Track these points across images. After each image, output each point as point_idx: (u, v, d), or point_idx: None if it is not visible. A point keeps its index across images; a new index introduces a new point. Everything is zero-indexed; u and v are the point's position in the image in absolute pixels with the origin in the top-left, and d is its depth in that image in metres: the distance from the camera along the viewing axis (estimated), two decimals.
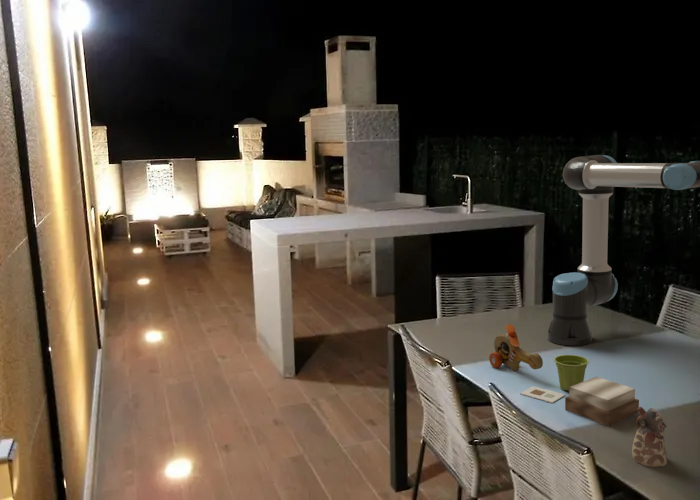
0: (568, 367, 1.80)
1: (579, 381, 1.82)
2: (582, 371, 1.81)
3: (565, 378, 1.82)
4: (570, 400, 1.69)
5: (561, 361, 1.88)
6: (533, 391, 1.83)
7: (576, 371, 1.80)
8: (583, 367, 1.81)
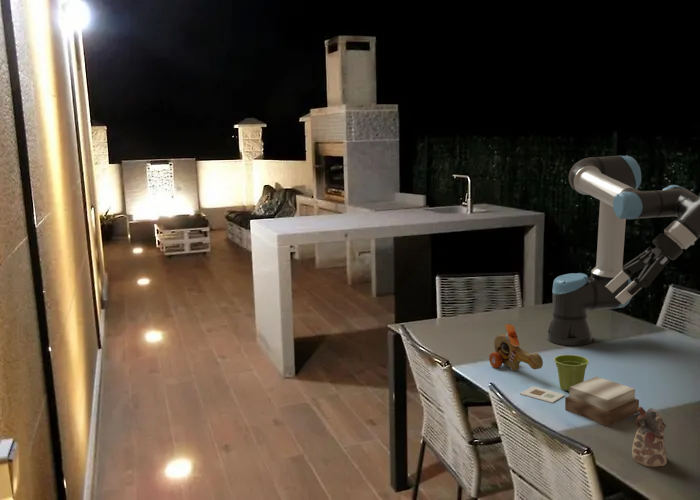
0: (568, 367, 1.80)
1: (579, 381, 1.82)
2: (582, 371, 1.81)
3: (565, 378, 1.82)
4: (570, 400, 1.69)
5: (561, 361, 1.88)
6: (533, 391, 1.83)
7: (576, 371, 1.80)
8: (583, 367, 1.81)
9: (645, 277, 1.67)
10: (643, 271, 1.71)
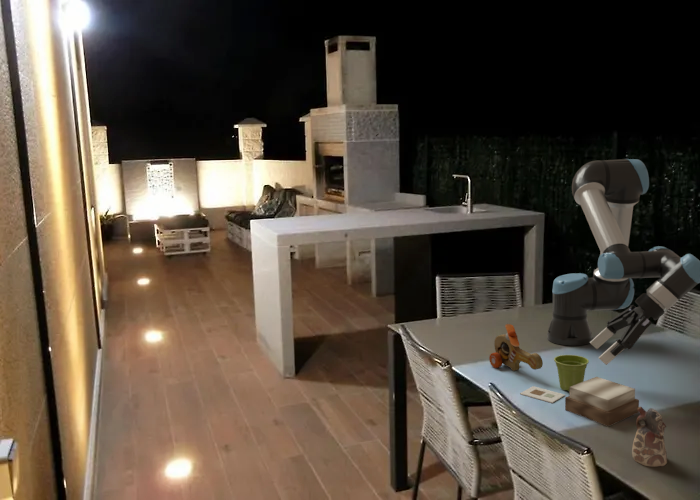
0: (568, 367, 1.80)
1: (579, 381, 1.82)
2: (582, 371, 1.81)
3: (565, 378, 1.82)
4: (570, 400, 1.69)
5: (561, 361, 1.88)
6: (533, 391, 1.83)
7: (576, 371, 1.80)
8: (583, 367, 1.81)
9: (627, 339, 1.70)
10: (626, 332, 1.73)
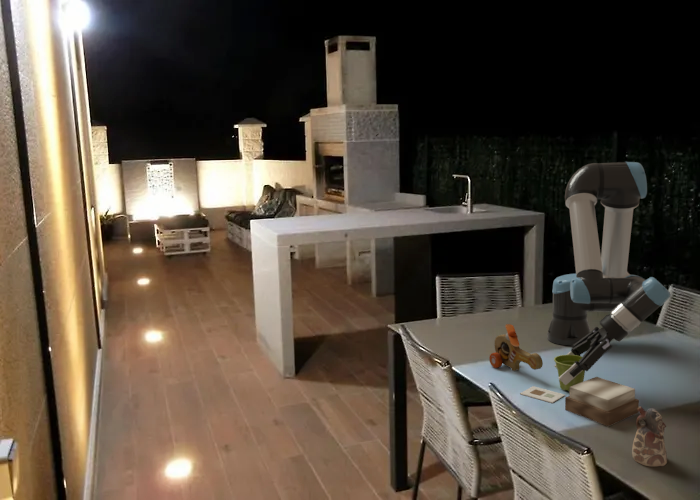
0: (568, 367, 1.80)
1: (579, 381, 1.82)
2: (582, 371, 1.81)
3: None
4: (570, 400, 1.69)
5: (561, 361, 1.88)
6: (533, 391, 1.83)
7: None
8: None
9: (585, 362, 1.75)
10: (586, 354, 1.78)
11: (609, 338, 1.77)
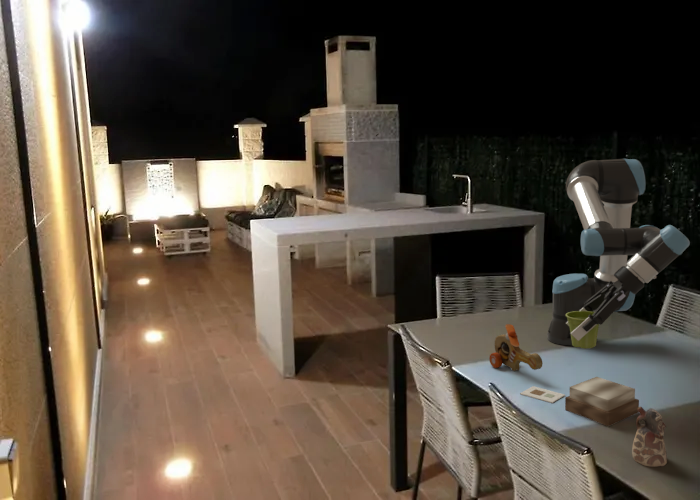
0: (581, 322, 1.70)
1: (592, 337, 1.71)
2: (595, 326, 1.71)
3: None
4: (570, 400, 1.69)
5: (573, 317, 1.78)
6: (533, 391, 1.83)
7: None
8: None
9: (599, 314, 1.65)
10: (600, 307, 1.68)
11: (624, 290, 1.67)
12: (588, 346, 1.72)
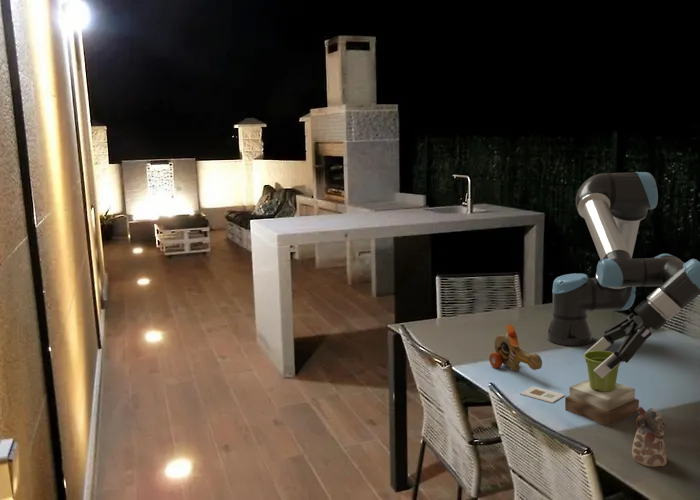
0: None
1: (612, 380, 1.64)
2: (615, 369, 1.64)
3: (596, 376, 1.65)
4: (570, 400, 1.69)
5: (591, 357, 1.71)
6: (533, 391, 1.83)
7: None
8: None
9: (625, 351, 1.56)
10: (623, 343, 1.59)
11: (646, 327, 1.60)
12: (607, 389, 1.65)
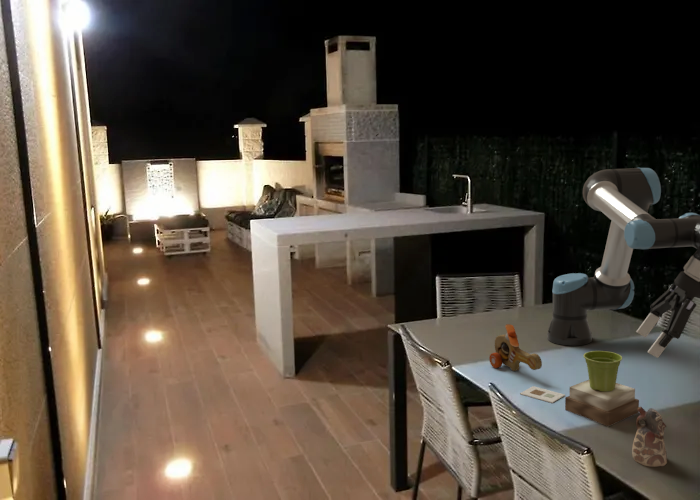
0: (600, 365, 1.63)
1: (611, 380, 1.64)
2: (615, 368, 1.64)
3: (596, 376, 1.65)
4: (570, 400, 1.69)
5: (591, 357, 1.71)
6: (533, 391, 1.83)
7: (609, 368, 1.63)
8: (616, 364, 1.64)
9: (674, 328, 1.56)
10: (671, 319, 1.60)
11: (689, 298, 1.59)
12: (607, 389, 1.65)
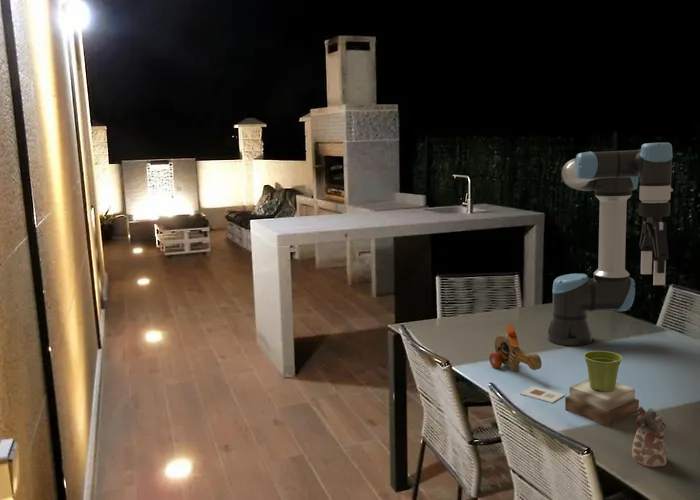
0: (600, 365, 1.63)
1: (612, 380, 1.64)
2: (615, 369, 1.64)
3: (596, 376, 1.65)
4: (570, 400, 1.69)
5: (591, 357, 1.71)
6: (533, 391, 1.83)
7: (609, 368, 1.63)
8: (616, 364, 1.64)
9: (659, 252, 1.63)
10: (654, 246, 1.67)
11: (658, 220, 1.68)
12: (607, 389, 1.65)
